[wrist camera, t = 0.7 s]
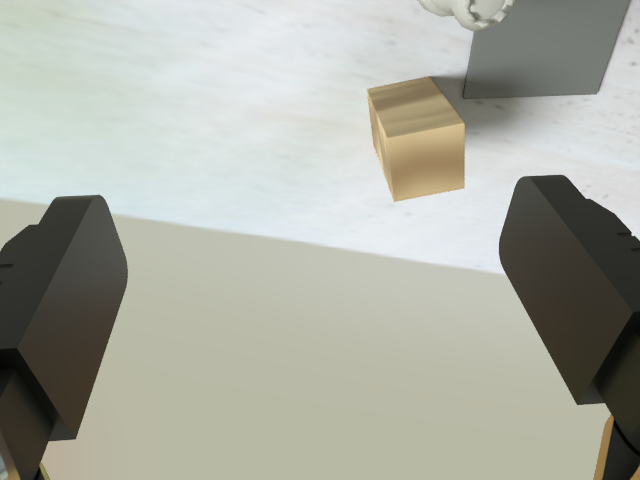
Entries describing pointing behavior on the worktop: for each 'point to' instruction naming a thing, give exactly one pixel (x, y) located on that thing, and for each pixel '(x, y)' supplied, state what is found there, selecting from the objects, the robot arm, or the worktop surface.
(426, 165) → the oak block
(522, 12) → the mat
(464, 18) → the rook chess piece
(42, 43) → the worktop surface
